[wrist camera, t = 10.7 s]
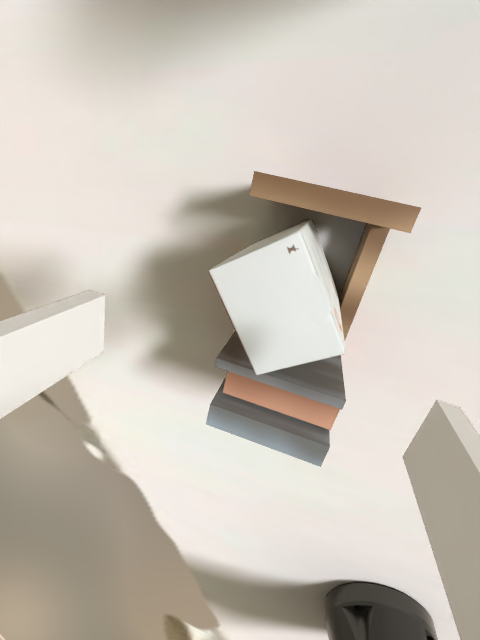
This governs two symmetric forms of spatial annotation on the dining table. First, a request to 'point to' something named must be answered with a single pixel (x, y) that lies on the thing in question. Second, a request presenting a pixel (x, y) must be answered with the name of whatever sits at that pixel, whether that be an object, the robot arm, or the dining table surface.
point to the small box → (282, 300)
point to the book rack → (314, 377)
